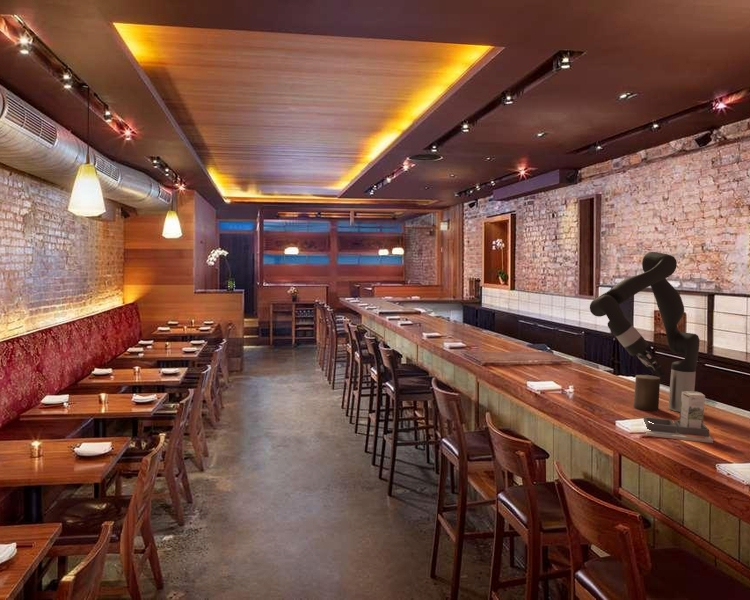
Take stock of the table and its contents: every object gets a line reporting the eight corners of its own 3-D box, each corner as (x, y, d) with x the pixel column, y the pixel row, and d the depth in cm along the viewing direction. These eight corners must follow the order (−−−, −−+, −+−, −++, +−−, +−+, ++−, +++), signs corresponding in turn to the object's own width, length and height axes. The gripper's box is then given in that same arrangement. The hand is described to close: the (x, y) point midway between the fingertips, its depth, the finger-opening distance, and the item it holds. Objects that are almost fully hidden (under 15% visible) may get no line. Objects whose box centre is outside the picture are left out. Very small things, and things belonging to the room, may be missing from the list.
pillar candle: (661, 412, 245) (663, 376, 244) (636, 410, 247) (638, 374, 246) (654, 406, 255) (657, 372, 254) (630, 404, 257) (633, 370, 256)
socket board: (641, 425, 224) (641, 416, 224) (703, 431, 218) (704, 422, 218) (646, 435, 211) (647, 426, 210) (712, 442, 205) (713, 433, 204)
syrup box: (693, 429, 217) (696, 391, 216) (702, 434, 211) (705, 394, 210) (678, 429, 217) (681, 390, 216) (686, 433, 211) (689, 394, 210)
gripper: (645, 335, 211) (675, 371, 210) (634, 332, 225) (662, 366, 224) (628, 348, 212) (658, 383, 211) (618, 344, 226) (646, 378, 225)
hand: (660, 374), depth 217 cm, fingers open, 8 cm apart
